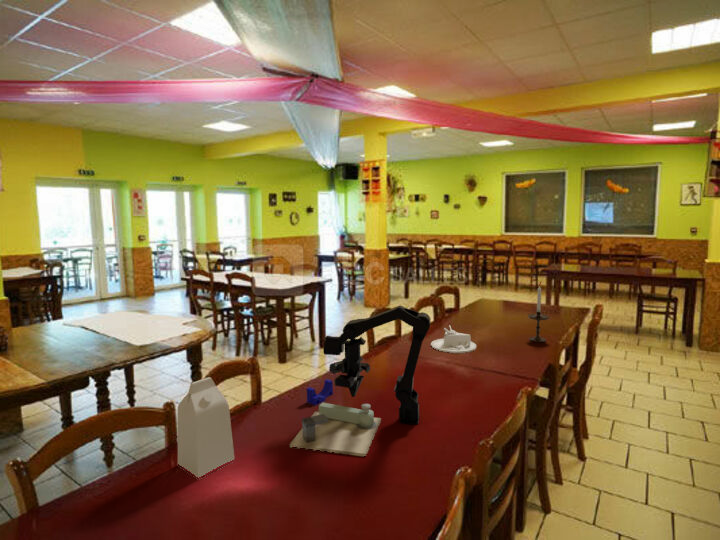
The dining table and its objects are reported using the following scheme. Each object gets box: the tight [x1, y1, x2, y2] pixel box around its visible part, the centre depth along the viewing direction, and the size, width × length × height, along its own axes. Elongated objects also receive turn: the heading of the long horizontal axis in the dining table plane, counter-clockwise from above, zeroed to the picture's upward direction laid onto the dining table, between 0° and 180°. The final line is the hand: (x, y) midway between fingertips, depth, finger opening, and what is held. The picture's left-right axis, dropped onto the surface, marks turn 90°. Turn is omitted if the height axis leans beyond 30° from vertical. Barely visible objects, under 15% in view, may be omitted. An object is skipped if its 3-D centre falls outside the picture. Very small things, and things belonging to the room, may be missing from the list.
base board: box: [289, 411, 382, 457], centre depth 148 cm, size 25×24×1 cm
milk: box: [177, 376, 236, 478], centre depth 130 cm, size 12×12×26 cm
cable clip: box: [306, 378, 334, 406], centre depth 176 cm, size 12×4×6 cm, turn 142°
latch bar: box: [318, 402, 375, 427], centre depth 154 cm, size 21×5×6 cm, turn 66°
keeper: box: [301, 414, 328, 443], centre depth 143 cm, size 8×4×6 cm, turn 116°
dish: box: [430, 324, 477, 354], centre depth 243 cm, size 25×25×11 cm
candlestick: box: [528, 281, 550, 343], centre depth 250 cm, size 11×11×35 cm
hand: (353, 396), depth 160 cm, fingers closed
